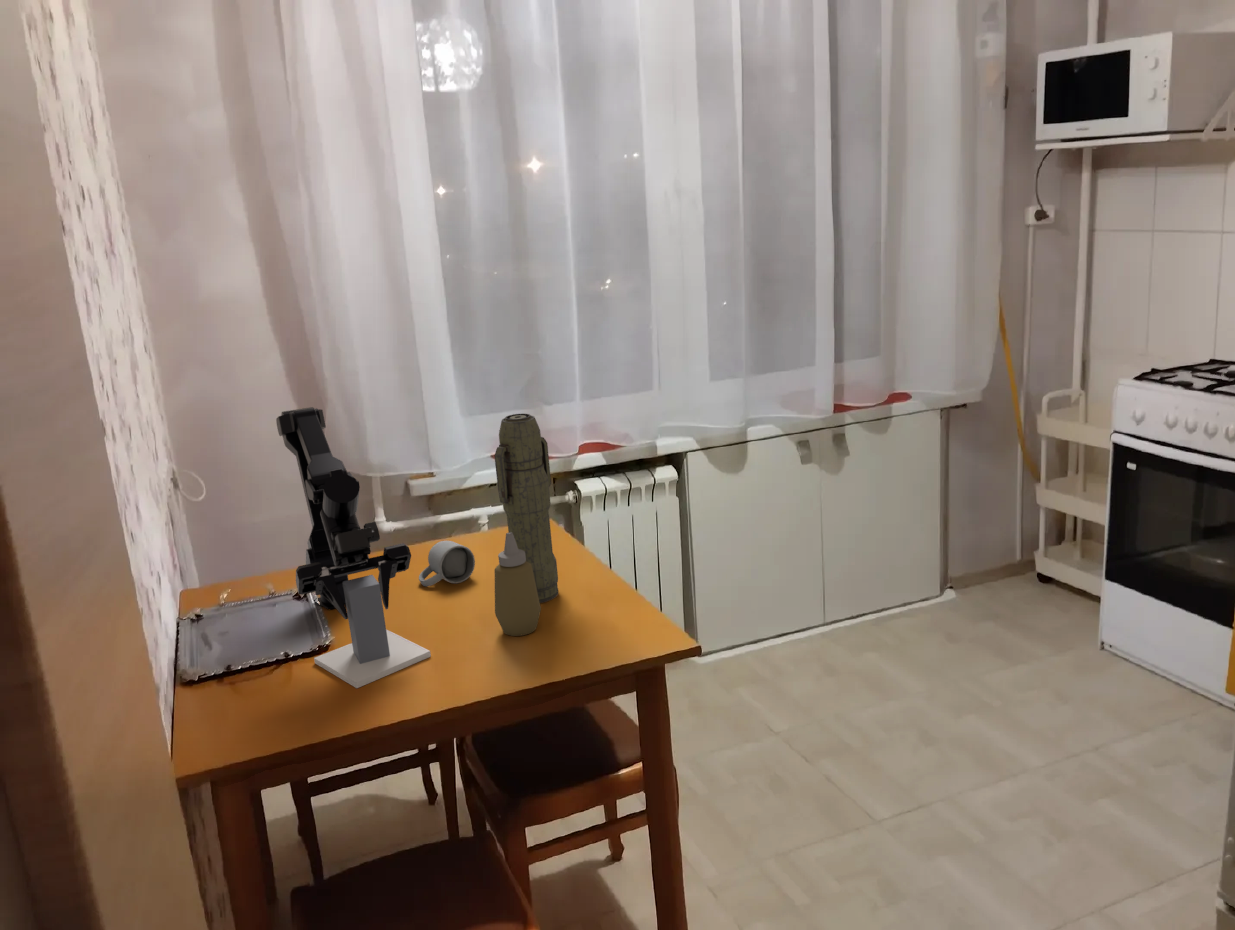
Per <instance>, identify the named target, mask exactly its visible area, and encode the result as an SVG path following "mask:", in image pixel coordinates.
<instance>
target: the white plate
mask: <svg viewBox="0 0 1235 930" xmlns="http://www.w3.org/2000/svg"><path fill="white" fill-rule="evenodd" d="M386 632H387V639H388V645H389V652H390V656H388V657H385V658H381V659H377V660H373V661H370V662H366V663H362V664H360V663H359V661H358V659H357V658H356V656H355V654H354V652H353V646H352V642H351V643H348V644H346V645H344V646H341V647H338V648H336V649H333V650H330V651H328V652H325V653H323V654H320V655H317V656H315V657H313V660H314V661H313V662H314V664H316V665H317V666H319V667H321V668H322V669H324V670H326V671H327V672H329V673H331V674H332V675H334V676H335V677H337V678H338V679H341V680H342V681H343V682H346V683H347V684H348V685H351V686H352V687H354V688H355V689H359V688H361V687H363V686H365V685H368V684H371V683H372V682H375V681H377V680H379V679H382V678H384V677H386V676H389V675H392V674H393V673H396V672H398V671H400V670H402V669H405V668H407V667H410V666H413V665H414V664H417V663H419V662H421V661H424V660H426V659H428V658H430V657H432V656H431V655H432V654H431V650H429V649H427V648H425V647H423V646H421V645H419V644H417V643H415V642H413V641H411V640H409V639H406V638H404V637H403V636H401V635H399V634H397V633H394V632H392V631H391V630H388V629H387V628H386Z"/></svg>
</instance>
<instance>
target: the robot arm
mask: <svg viewBox="0 0 1235 930" xmlns="http://www.w3.org/2000/svg"><path fill="white" fill-rule="evenodd" d="M275 420H276V423H275V424H276V427H277V432H278V435H279V436H280V437H282V439H283V444H284V446H285V447H286V448H287V449H288V450H289V451H290V452H291V453H292V454H293V455H294V457H296V458H295V459H296V462H297V466H298V471H299V475H300V480H301V483H302V489H303V493H304V496H305V502H306V505H307V509H308V516H309V518H310V523H311V527H312V528H311V531H310V534H309V537H308V539H307V548H306V549H305V564H304V565H298V566H297V568H296V570H295V585H296V588H297V593H298V594H299V595H307V594H311V593H314V594H315V595H316V596H319V597H317V598H318V601H319V602H320V605H319V606H321V607H323V608H324V609H327V610H333V609H336V610H337V612H338V613H339V614H340V615H341V616H342V617H343V619H344V620H348V614H347V608H346V601H345V595H344V589H343V581H347V580H349V575H353V574H358V573H363V572H367V571H370V570H375V569H377V571H378V577H377V581H378V583H379V584H380V591H381V598H382V605H383V608H384V609H385V610H388V609H389V606H390V605H389V603H390V601H389V600H390V599H389V598H390V597H389V595H390V582H391V579H393V578H396V576H397V573H402V572H405V571H406V570H409V568H410V565H411V564H410V563H411V560H412V559H411V558H412V554H411V553H412V552H411V550H410V547H409V545H407V544H406V543H404V542H402V543H398V544H395V545H394V544H393V545H389V546H388V545H387V546H384V547H383V554H382V555H377V556H374V557H369V555H371V552H372V551H371V543H376V542H378V541H379V540H380V539H381V538H380V531H379V527H378V525H377V522H376V521H371V522H367V523H365V524H364V525H363V528H361V526H360V524H359V520H358V517H357V514H356V513H357V511H358V506H359V497H360V488H361V487H360V482H359V480H358V479H356V478H355V477H354V475H353V474H352V473H351V472H350V471H348V470H347V468H346V466H345V464H344V462H343V461H342V460H340V459H339V458H337V457H334V456H333V454H332V451H331V448H330V445H329V443H328V440H327V438H326V435H325V432H324V429H326V428H327V426H326V420H325V417H324V411H323V409H318V408H315V407H313V406H312V407H311V406H310V407H303V408H299V409H292V410H291V409H290V410H285V411H281V414H280V415H278V416H277V417H276V419H275Z"/></svg>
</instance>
